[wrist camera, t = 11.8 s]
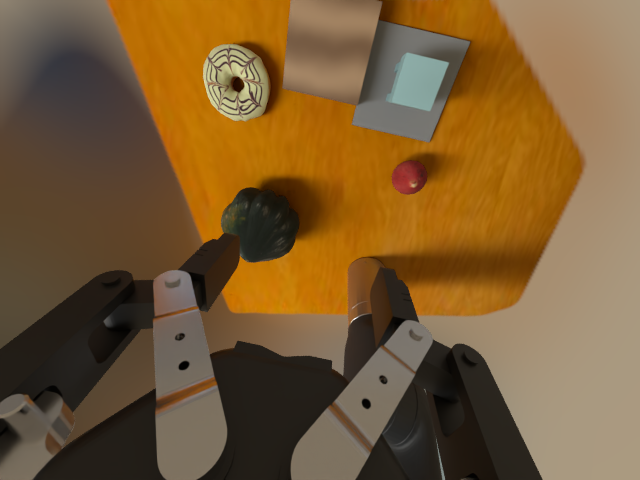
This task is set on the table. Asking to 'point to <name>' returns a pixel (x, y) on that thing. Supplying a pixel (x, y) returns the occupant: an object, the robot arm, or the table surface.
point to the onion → (409, 177)
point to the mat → (381, 77)
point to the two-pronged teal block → (417, 81)
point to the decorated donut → (221, 75)
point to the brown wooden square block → (329, 47)
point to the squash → (261, 224)
